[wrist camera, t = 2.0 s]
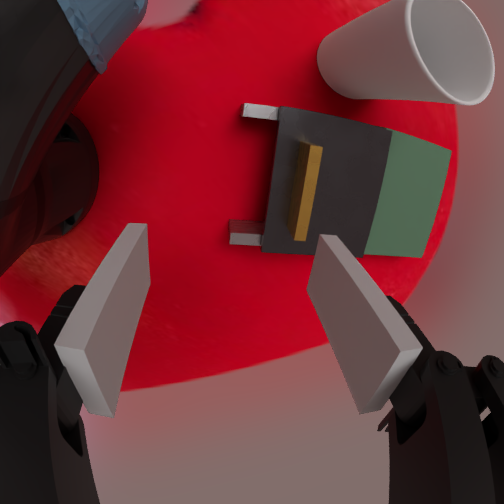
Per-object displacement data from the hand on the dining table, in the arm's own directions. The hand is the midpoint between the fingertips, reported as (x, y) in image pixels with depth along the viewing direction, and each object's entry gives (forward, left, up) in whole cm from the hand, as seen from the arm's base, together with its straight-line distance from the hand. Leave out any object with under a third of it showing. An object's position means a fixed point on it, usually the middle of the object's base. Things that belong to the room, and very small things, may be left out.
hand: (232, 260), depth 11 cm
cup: (+12, +13, -19) cm, 26 cm away
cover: (+10, 0, -15) cm, 18 cm away
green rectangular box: (+20, 0, -19) cm, 28 cm away
